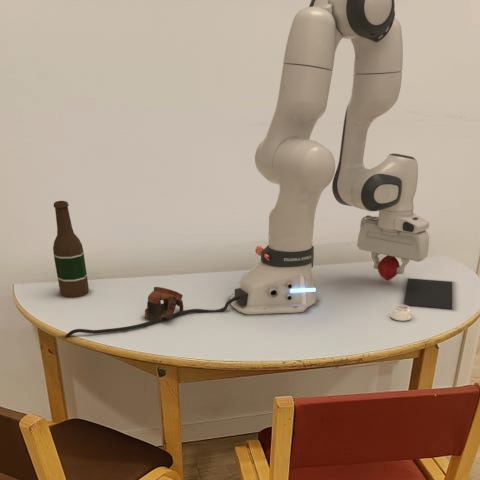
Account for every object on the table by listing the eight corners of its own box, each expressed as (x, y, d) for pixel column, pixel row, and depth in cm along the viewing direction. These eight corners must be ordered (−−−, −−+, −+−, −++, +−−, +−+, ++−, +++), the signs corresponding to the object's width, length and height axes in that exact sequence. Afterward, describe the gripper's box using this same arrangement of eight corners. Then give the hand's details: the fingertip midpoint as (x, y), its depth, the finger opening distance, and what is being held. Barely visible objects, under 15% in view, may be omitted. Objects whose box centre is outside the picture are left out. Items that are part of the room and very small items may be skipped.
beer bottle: (54, 295, 163) (38, 203, 150) (71, 287, 169) (57, 197, 156) (78, 299, 160) (63, 205, 148) (95, 290, 166) (82, 199, 154)
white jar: (391, 313, 149) (389, 320, 145) (393, 302, 148) (390, 308, 144) (412, 315, 148) (410, 323, 144) (414, 304, 146) (411, 311, 142)
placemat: (452, 309, 151) (452, 308, 151) (403, 305, 154) (403, 304, 154) (451, 282, 169) (452, 281, 169) (408, 279, 172) (408, 278, 172)
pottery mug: (136, 316, 150) (145, 284, 150) (170, 326, 155) (178, 295, 155) (154, 319, 140) (163, 284, 140) (189, 330, 145) (198, 297, 145)
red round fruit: (399, 284, 166) (403, 255, 162) (378, 284, 166) (382, 255, 162) (395, 277, 171) (399, 249, 167) (375, 277, 171) (378, 249, 167)
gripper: (355, 216, 164) (350, 266, 171) (423, 227, 152) (415, 281, 159) (367, 212, 168) (363, 261, 175) (435, 223, 156) (426, 275, 163)
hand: (388, 271), depth 167 cm, fingers closed on red round fruit, 6 cm apart
